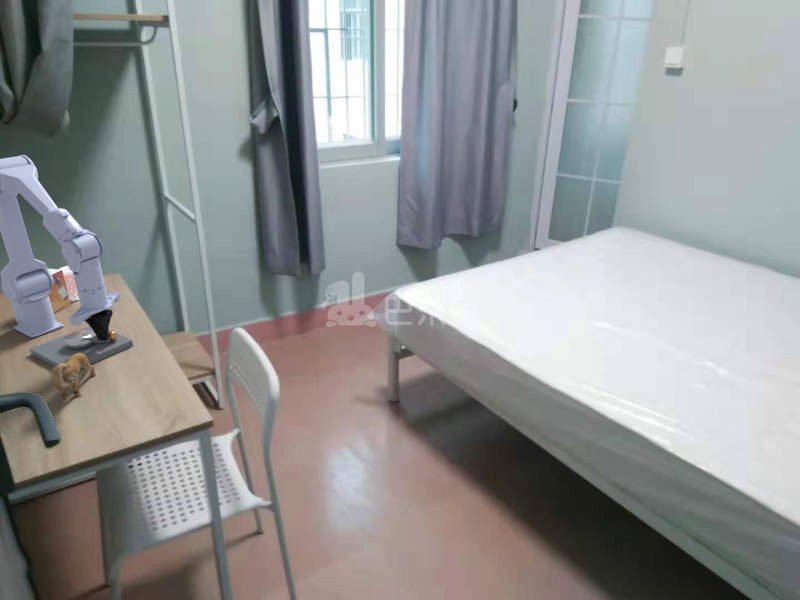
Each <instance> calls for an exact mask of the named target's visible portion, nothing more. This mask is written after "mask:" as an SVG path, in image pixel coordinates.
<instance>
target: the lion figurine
mask: <svg viewBox="0 0 800 600" xmlns="http://www.w3.org/2000/svg"><path fill="white" fill-rule="evenodd" d="M52 367H53V366H52ZM81 367H83V368H81ZM80 368H81V369H84V371H85V372H87V371H88V370H89V371H90V373H89V376H90V377H95V376H96V374H97V373H96V371H95V367H94V366H93V365H92V364H90V363H89V361H88V359H87V357H86V355H84V354H83V353H77V354H74V355H72V356H71V357H70V358H69V360H68V362H67V363H66V364H65V363H59V364H57V365H55V367H53V368H52V369H51V372H50V375H51V378H50V379H51V382H52V385H53V387H56V389H58V390H59V392H60V394H61V395H60V396H59V399H60V400H66V399H67V397H68V395H67V391H66V390H68V389H70V388H72V389H73V390H72V393H73V396H74V398H78V397H81V396H82V393H80V389H79V383H78V380H79V375H80V370H81V369H80Z"/></svg>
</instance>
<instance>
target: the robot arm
mask: <svg viewBox="0 0 800 600" xmlns="http://www.w3.org/2000/svg"><path fill="white" fill-rule="evenodd" d="M45 189H46V188H44V187H43V185H42V184H41V182H40V181H39V173H38V169H37V167H36V166H35V164H34V162H33V161H32V159H30V158H29V157H28V156H27V155H24V154H20V155H18V156H11V157H5V158H0V235H1V238H2V240H3V244H4V247H5V251H6V254H7V257H8V260H9V262H7V264H6V265H5V266H4V267H3V268H2V269H1V271H0V279H1V284H0V285H1V290H2V292H3V295H4V296H5V297H6V298H7V299H8V300H9V301H11V306H12V307H11V308H12V310H13V314H14V317H15V320H16V325H15V326H14V327H13V329H14V330H16V331H18V332H20V333H22V334H23V335H25V336H28V337H29V338H36V337H39V336H42V335H44V334H47V333H50V332H52V331H55V330H58V329H60V328H63V327H64V324H63V323H61V322H59V321H57V320H56V317H55V313H53V310H52V306H51V302H50V299H49V295H48V294H51V291H50V290H51V289H52V288H53V284H54V281H53V277H52V275H51V273H50V272H49V270H48V269H49V268H48V265H47V263H45V262H44V261H42V260H39V259H37V258H35V257H34V254H33V249H32V247H31V242H30V240H29V236H28V232H27V228H26V225H25V222H24V219H23V218H24V217H23V215H22V212H21V211H22V210H21V208H20V204H19V202H18V194H19V195H21V196H22V197H23V199H25V201H27V202H28V203H29V204H30V205H31V206H32V207H33V208H34V209H35V210H36V211H37V212H38V213H39V214H40V216H42V217H43V219H42V225H43V226H44V227H45V229H46V231H48V233H50V234H51V236H52V237H53V238H54V239H55V240H56V241H57V242H58V244H59V245H60V246H61V250H60V252H61V255H62V257H63V259H64V260H65V261H66V263H67V266H69V268H70V270H71V271H73V275H74V279H75V283H76V287H77V291H78V295H79V299H80V300H79V302H80V306H79V307H78V309H77V310H76V311H75V312H74V313H73V314H72V315H71V316H69V322H70V324H71V326H78V327H79V326H80V325H82V323H83V322H85V323H86V324H88V326H90V327H91V328H92V329H93V331H94V332H95V334H96V336H97V338H98V340H100V341H107V340H108V330H110V328H109V327H110V322H111V319H112V318H113V317H112V316H113V315H114V313H113V310H112V309H113V308H114V303H115V302H117V303H118V302H120V301H121V296H120V293H119V292H112V291H111V292H110V293H108V292H107V288H106V283H105V279H104V274H103V270H102V264H101V261H100V258H99V257H101V256H102V255H103V254H104V253H103V252H104V246H103V243H102V241H101V240H100V238H99V237H98V236H97V234H96V233H94V232H92V231H89V230H88V229H84V228H83V227H82V226H81V225H80V223H78V221H76V219H75V218H74V217H73V216H72V215H71V213H70V212H69V211H68V210H67V209H65V208H61V207H58V206H57V204H56V203H55V202H54V201H53V199H52V197H50V195H49V193H48V192H47V191H46V190H45Z"/></svg>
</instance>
